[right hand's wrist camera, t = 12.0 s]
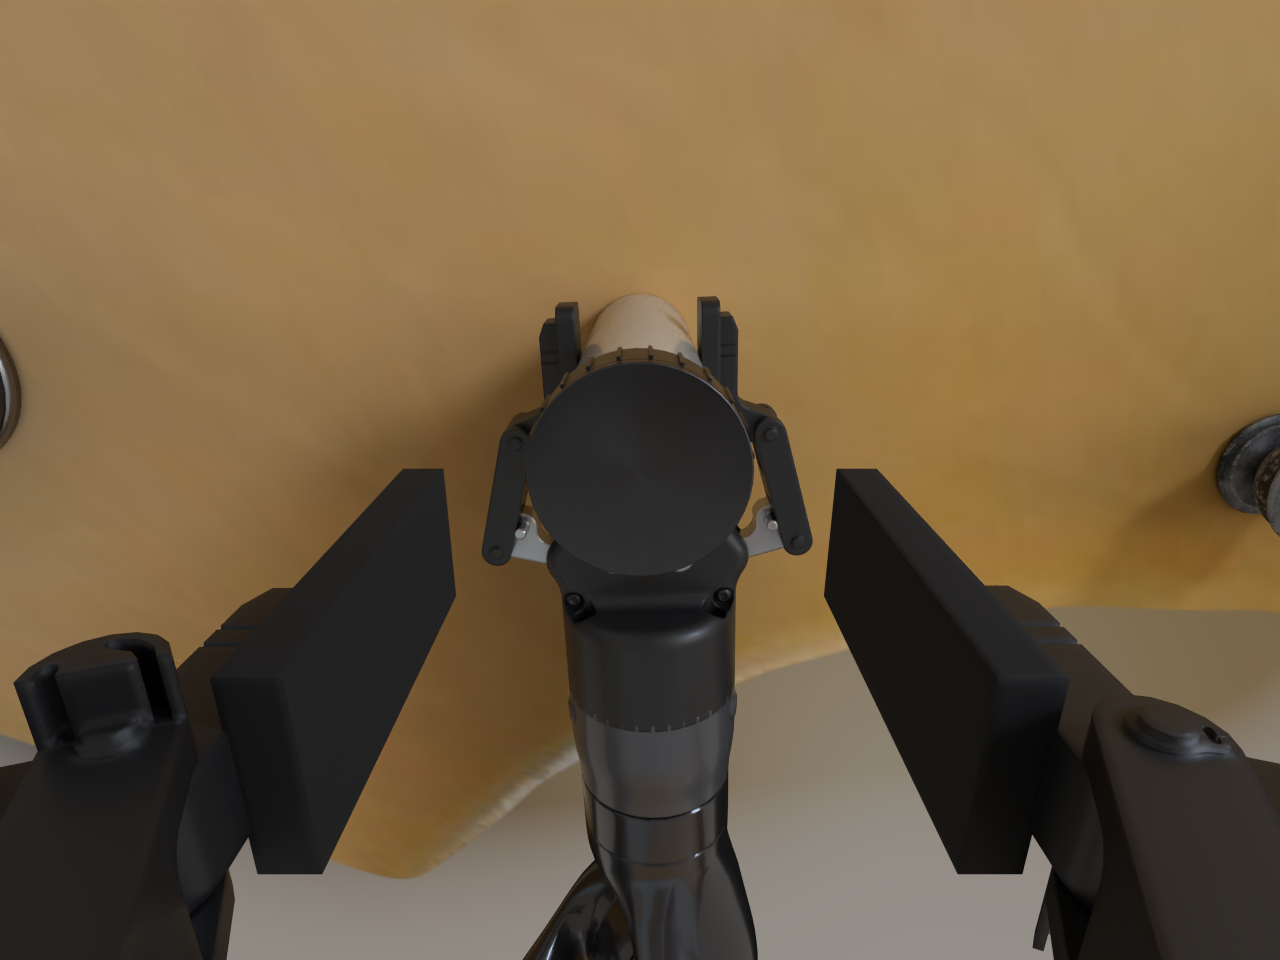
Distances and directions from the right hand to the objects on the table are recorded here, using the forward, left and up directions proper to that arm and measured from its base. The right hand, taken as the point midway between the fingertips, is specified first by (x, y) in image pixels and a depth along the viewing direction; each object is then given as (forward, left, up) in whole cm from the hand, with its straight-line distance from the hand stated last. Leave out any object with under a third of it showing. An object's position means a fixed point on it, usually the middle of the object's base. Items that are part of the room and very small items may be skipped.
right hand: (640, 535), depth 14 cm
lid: (0, 0, -4) cm, 4 cm away
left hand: (-2, +2, -15) cm, 15 cm away
